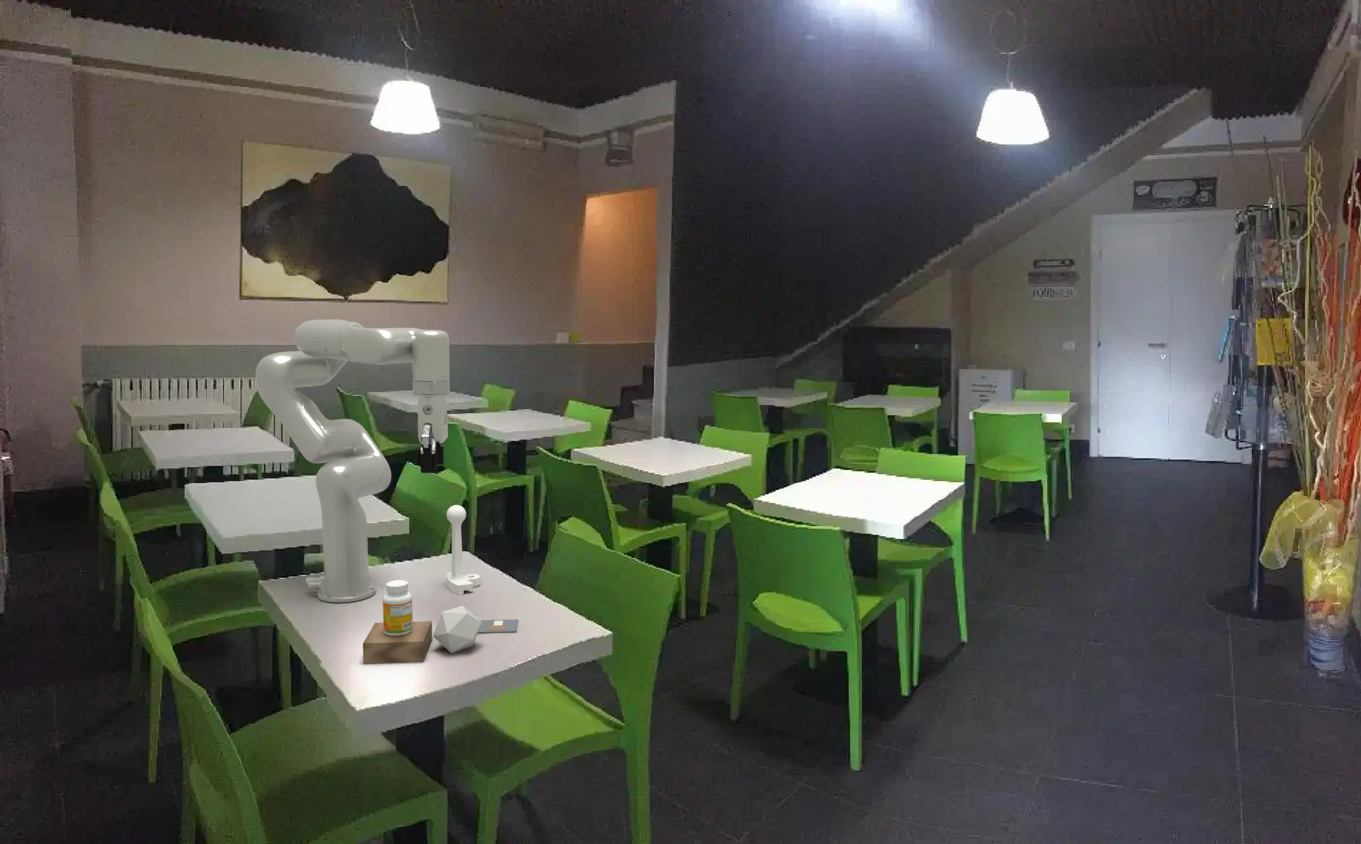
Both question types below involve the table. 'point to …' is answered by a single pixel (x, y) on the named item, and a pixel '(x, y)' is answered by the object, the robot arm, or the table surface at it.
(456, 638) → the die
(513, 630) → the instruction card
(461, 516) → the joystick
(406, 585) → the supplement bottle
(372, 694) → the table surface
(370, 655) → the base block
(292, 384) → the robot arm
